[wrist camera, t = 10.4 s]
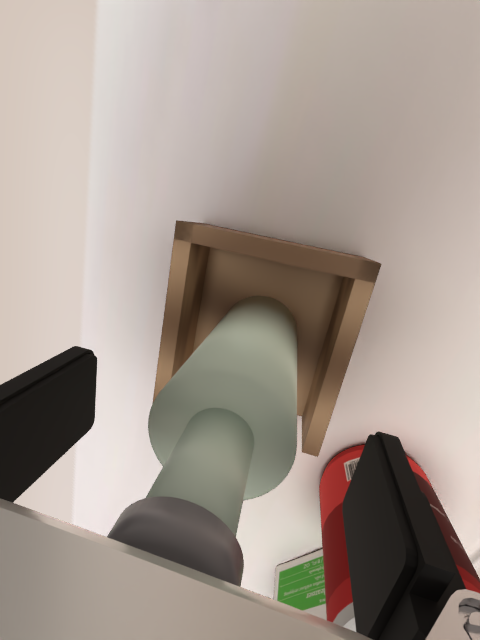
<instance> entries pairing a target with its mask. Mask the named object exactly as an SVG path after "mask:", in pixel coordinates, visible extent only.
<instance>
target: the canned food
mask: <svg viewBox="0 0 480 640" xmlns="http://www.w3.org/2000/svg"><path fill="white" fill-rule="evenodd" d="M364 446H365V445H359V446H355V447H352V448H348V449H346V450H344V451H342V452H341V453H339V454H338V455H336V456H335V457H334V458H333V459H332V460H331V461H330V462H329V463H328V465H327V466H326V468H325V470H324V473H323V475H322V478H321V482H320V486H319V491H320V511H321V528H322V545H323V563H324V580H325V598H326V615H327V621H330V622H332V623H335V624H337V625H340V626H342V627H345V628H347V629H350V630H352V631H355V632H356V625H355V616H354V608H353V599H352V591H351V582H350V573H349V565H348V556H347V548H346V539H345V530H344V522H343V513H342V505H343V500H344V497H345V494H346V492H347V489H348V487H349V484H350V482H351V479H352V476H353V474H354V471H355V469H356V466H357V464H358V461H359V459H360V456H361V454H362V451H363V449H364ZM406 456H407V455H406ZM407 459H408V461H409V464H410V466H411V468H412V471H413V473H414V476H415V478H416V480H417V483H418V485H419V487H420V490H421V491H422V492H424V493H425V495H426V497H427V499H428V501H429V503H430V506H431V508H432V510H433V513H434V515H435V517H436V520H437V522H438V524H439V526H440V529H441V531H442V533H443V536H444V538H445V540H446V543H447V545H448V547H449V550H450V552H451V554H452V557H453V559H454V561H455V564H456V566H457V568H458V571H459V573H460V575H461V577H462V580H463V582H464V584H465V587H466V589H467V590H470V591H474V592H477V593H479V594H480V579H479V577H478V575H477V573H476V571H475V569H474V567H473V565H472V563H471V561H470V559H469V558H468V556H467V554H466V552H465V550H464V548H463V546H462V544H461V542H460V540H459V538H458V536H457V534H456V532H455V530H454V528H453V527H452V525H451V523H450V521H449V519H448V517H447V515H446V513H445V511H444V509H443V507H442V505H441V503H440V501H439V499H438V497H437V496H436V494H435V492H434V490H433V488H432V486H431V484H430V482H429V480H428V478H427V476H426V474H425V473H424V472H423V470H422V469H421V468H420V466H419V465H417V464H416V463H415V462H414V461H413V460H412V459H411V458H409V457H408V456H407Z"/></svg>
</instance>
